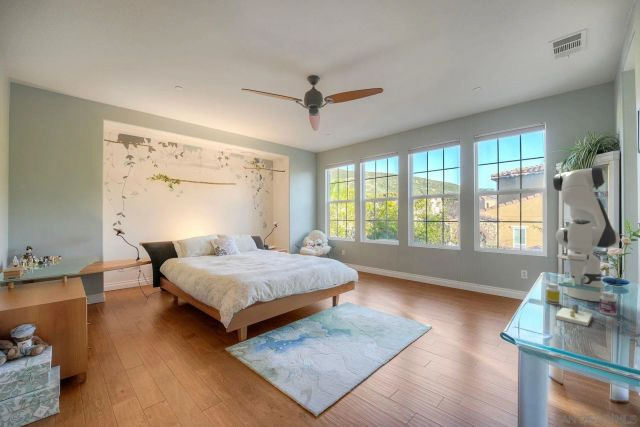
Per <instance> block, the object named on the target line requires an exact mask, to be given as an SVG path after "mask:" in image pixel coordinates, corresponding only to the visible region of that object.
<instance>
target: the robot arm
mask: <svg viewBox="0 0 640 427" xmlns="http://www.w3.org/2000/svg"><path fill="white" fill-rule="evenodd" d="M604 170H605V169H604V168H601V167H591V168H582V169H576V170H571V171H566V172H563V173H561V172H560V173H558V174H555V175H554V176H553V177H552V181H551V183H552V184H551V185H552V187H553V188H554V190H556V191H558V192H561V199H562V201H563V202H564V203H565V204H566V205H567V206H568V207H569V211H570V212H569V214H570V218H571V220H570V221H569V223H568V226H566V227H562V228H559V229H558V230H557V231H556V233H555V241H556V242H558V244H559V245H561V246H562V247H563V248H565V249H566V257H567V259H568V261H569V273H570V277H571V278H569V279H567V280H566V282H568V283H574V284H578V285H580V284H581V278H582V279H584V282H583V285H587V286H593V287H600V288H601V291H600V292H594V291H588V290H582V289H576V288H570V287H566V291H562V294H563V295H566V296H568V297H571V298H575V299H579V300H583V301H590V302H600V297H601V296H603V295H602V292H606V285H605V284H604V283H603V282H602V277H603V276H602V274H601V260H600V258H599V257H597V256H596V255H594V248H596V249H608V248H615V247H616V246H618V245H619V243H620V240H621V237H620V234H619V233H618V231H617V230H615V229H614V228H613V226H612V224H611V221H610V219H609V217H608V214H607V212H606V211H607V210H606V209H605V206H604V204H603V203H602V201H601V199H600V198H598V197H596V194H595V192H594V188H595V190H596V191H598V189H599V188H601V187H602V186H603V185H604V184H605V183H606V180H607V174H606V172H605V171H604Z"/></svg>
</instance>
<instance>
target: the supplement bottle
mask: <svg viewBox="0 0 640 427" xmlns="http://www.w3.org/2000/svg"><path fill="white" fill-rule="evenodd" d="M558 287H559V284H558V283H557V284H556V283H552V282H550V283H547V287H546V288H545V303H548V304H551V305H560V292H561V290H560V289H559V288H558Z"/></svg>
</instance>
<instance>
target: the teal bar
mask: <svg viewBox="0 0 640 427" xmlns="http://www.w3.org/2000/svg"><path fill="white" fill-rule="evenodd" d="M583 282H584V279H582V278H581V284H580V285H578V284H574V283H568V282H567V281H559V282H558V287H564V288H567V287H570V288H576V289H582V290H588V291H594V292H600V291H601V288H600V287H593V286H587V285H583Z"/></svg>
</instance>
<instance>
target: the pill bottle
mask: <svg viewBox="0 0 640 427" xmlns="http://www.w3.org/2000/svg"><path fill="white" fill-rule="evenodd" d="M602 295H603V296H601V297H600V301H599V308H598V309H599V313H600V314H603V315H607V316H612V317H613V316H616V315H617V299H616V298H615V297H616V296H615V295H616V294H615V293H613V292H608V291H605V292H602Z"/></svg>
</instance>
